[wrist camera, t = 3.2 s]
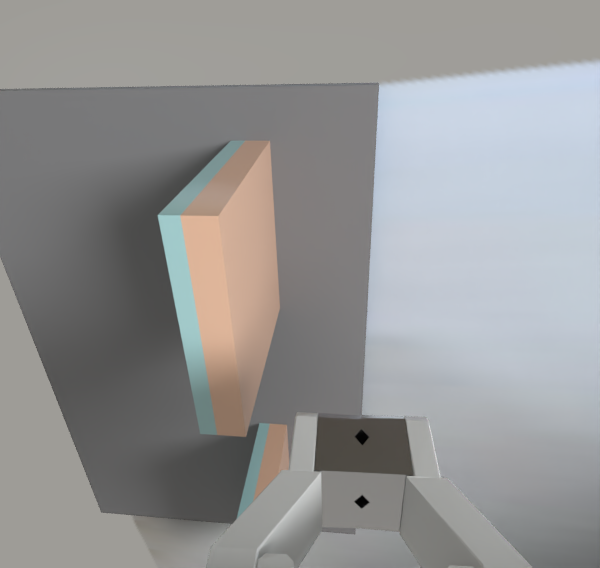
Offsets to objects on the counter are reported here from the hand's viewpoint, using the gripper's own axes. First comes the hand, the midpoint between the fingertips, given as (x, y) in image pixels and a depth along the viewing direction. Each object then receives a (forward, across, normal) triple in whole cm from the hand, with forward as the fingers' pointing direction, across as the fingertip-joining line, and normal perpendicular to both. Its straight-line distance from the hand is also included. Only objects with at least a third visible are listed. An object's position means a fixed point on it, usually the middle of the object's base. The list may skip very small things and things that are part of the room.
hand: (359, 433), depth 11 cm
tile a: (+11, +4, 0) cm, 12 cm away
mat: (+12, +8, +8) cm, 16 cm away
